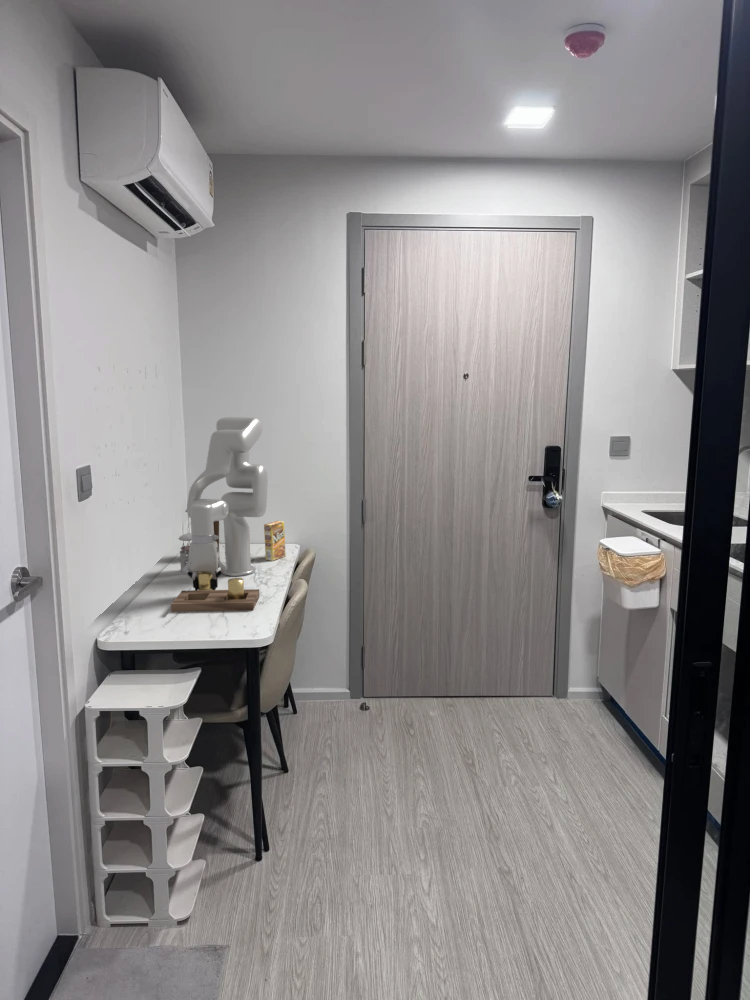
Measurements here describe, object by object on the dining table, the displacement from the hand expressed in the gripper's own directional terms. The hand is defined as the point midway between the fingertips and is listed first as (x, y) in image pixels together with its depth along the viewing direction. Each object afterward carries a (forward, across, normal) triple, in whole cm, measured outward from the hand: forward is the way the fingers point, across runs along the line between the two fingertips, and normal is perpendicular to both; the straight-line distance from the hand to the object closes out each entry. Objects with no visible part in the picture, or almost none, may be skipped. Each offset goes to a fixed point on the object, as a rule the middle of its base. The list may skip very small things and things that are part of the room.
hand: (205, 589), depth 228 cm
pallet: (+2, -6, +13) cm, 15 cm away
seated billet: (+1, -13, +13) cm, 18 cm away
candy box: (+2, -18, -48) cm, 51 cm away
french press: (+2, +12, -29) cm, 32 cm away
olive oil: (+2, +10, -51) cm, 52 cm away
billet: (+2, 0, 0) cm, 2 cm away
